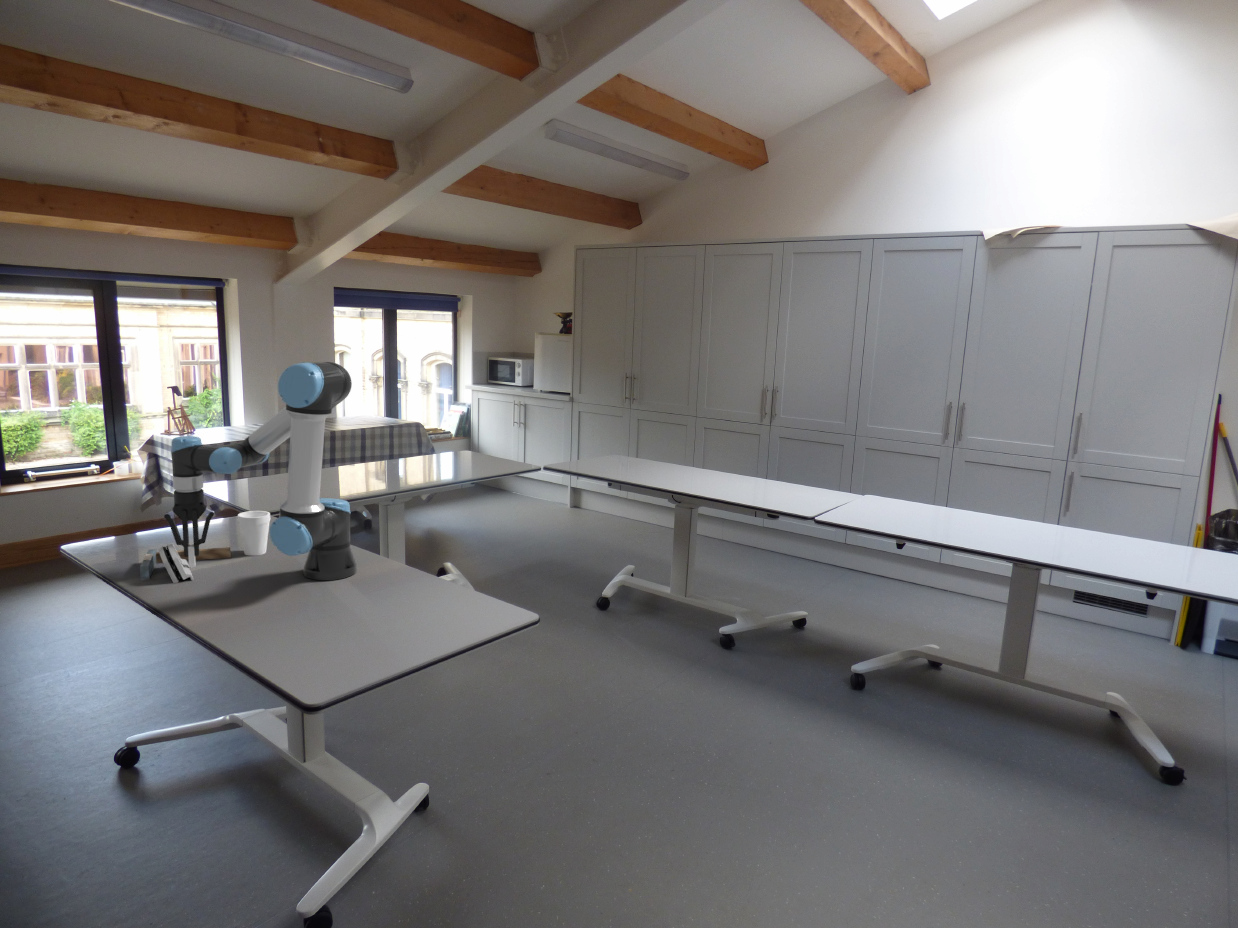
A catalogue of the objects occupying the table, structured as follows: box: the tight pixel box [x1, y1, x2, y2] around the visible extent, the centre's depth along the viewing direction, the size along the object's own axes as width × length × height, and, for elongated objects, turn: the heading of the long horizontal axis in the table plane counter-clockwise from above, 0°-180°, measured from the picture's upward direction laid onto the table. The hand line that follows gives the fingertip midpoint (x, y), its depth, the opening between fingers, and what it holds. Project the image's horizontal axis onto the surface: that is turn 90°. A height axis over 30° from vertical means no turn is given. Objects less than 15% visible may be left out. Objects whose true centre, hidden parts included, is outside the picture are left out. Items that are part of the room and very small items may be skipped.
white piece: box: [158, 542, 195, 584], centre depth 210 cm, size 17×5×10 cm, turn 36°
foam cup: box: [237, 510, 271, 557], centre depth 233 cm, size 10×9×13 cm
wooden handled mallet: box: [139, 547, 232, 581], centre depth 217 cm, size 22×17×4 cm
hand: (192, 566), depth 214 cm, fingers closed
